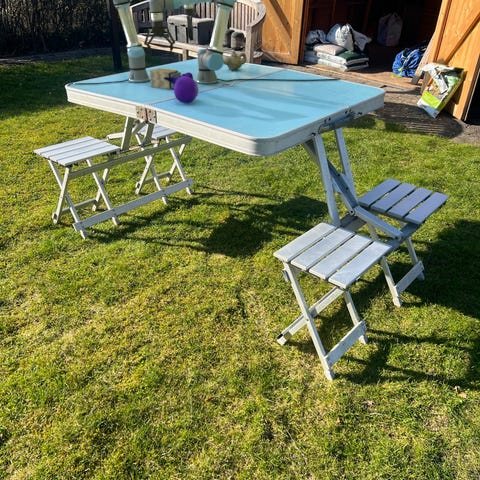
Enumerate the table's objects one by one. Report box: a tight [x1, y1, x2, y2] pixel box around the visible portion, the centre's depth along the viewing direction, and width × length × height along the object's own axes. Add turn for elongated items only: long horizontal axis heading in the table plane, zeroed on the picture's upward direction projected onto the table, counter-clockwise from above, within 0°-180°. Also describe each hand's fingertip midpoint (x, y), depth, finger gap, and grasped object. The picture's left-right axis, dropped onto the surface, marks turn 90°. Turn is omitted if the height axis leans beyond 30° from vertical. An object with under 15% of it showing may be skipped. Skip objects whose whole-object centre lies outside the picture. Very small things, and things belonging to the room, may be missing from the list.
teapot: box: [223, 50, 247, 72], centre depth 367 cm, size 21×12×15 cm, turn 120°
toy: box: [164, 72, 199, 104], centre depth 277 cm, size 16×18×27 cm
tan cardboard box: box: [149, 67, 179, 90], centre depth 317 cm, size 18×10×11 cm, turn 56°
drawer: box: [169, 71, 182, 89], centre depth 314 cm, size 22×9×9 cm, turn 56°
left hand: (190, 39), depth 344 cm, fingers open, 13 cm apart
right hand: (161, 55), depth 297 cm, fingers open, 13 cm apart
